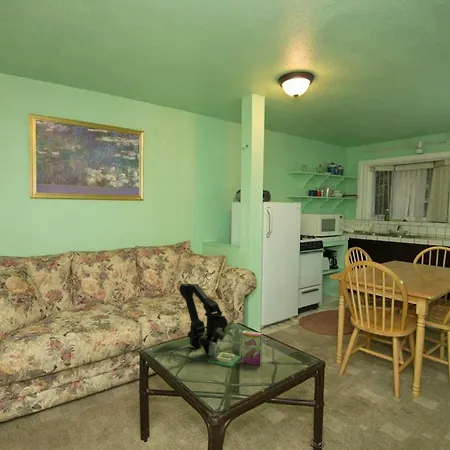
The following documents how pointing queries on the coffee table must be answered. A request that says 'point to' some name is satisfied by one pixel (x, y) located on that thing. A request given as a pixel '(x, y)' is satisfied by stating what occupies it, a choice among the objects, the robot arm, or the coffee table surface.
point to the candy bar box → (251, 347)
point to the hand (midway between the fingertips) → (210, 351)
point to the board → (224, 359)
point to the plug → (212, 349)
